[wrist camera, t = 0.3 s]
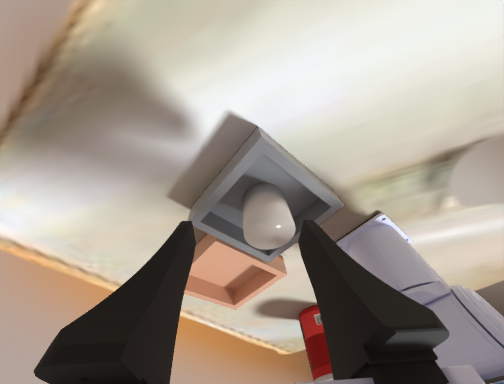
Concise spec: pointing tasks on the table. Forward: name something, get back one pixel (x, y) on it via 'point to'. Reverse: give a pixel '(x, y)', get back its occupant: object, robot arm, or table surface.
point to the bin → (254, 172)
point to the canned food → (316, 344)
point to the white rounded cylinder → (266, 217)
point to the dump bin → (230, 273)
